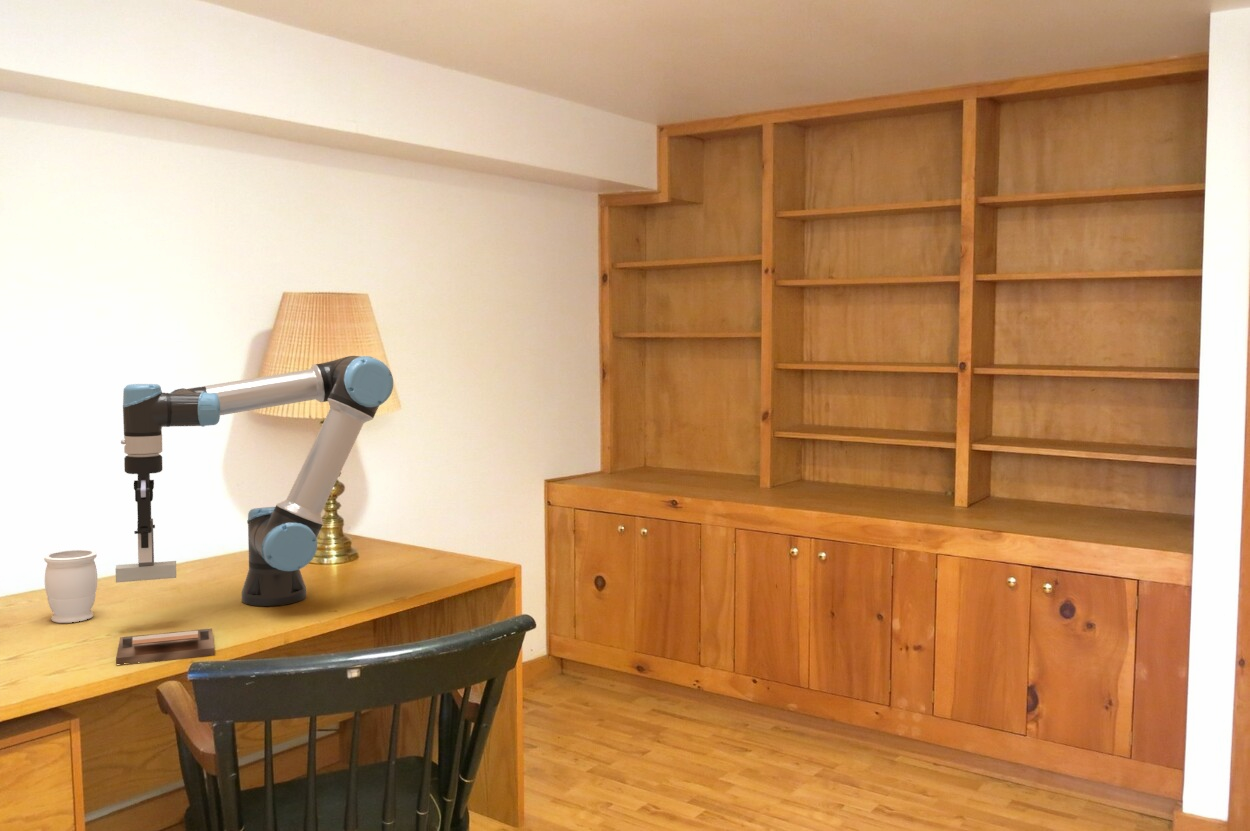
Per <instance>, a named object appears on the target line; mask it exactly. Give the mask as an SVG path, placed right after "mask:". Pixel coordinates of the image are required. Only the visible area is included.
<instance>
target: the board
mask: <svg viewBox="0 0 1250 831" xmlns="http://www.w3.org/2000/svg"><path fill="white" fill-rule="evenodd" d="M188 631H198V639H188V640H178V641H168V642H158V643H148V644H138V645H134V644H133V637H137V636H147V635H157V634H168V633H178V632H188ZM213 631H214V630H213V628H202V629H201V628H200V629H191V630H190V629H189V630H182V631H172V632H160V633H150V634H141V635H140V634H139V635H131V636H120V637H119V641H118V647H117V652H116V657H115V665H116V664H124V663H136V664H142V663H141V662H146V663H151V662H150V661H155V662H163V661H162V660H165V661H171V660H172V661H173V660H182V659H190V658H201V657H208V656H215V643H214V635H213V634H214V633H213ZM138 662H140V663H138Z"/></svg>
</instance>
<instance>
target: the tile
mask: <svg viewBox="0 0 1250 831" xmlns="http://www.w3.org/2000/svg"><path fill="white" fill-rule="evenodd" d="M187 631H188V632H179V631H177V632H178V633H169V632H167V633H168V634H159V633H156V634H157V635H148V634H146V635H147V636H138V635H136V636H137V637H133V644H134V645H138V644H148V643H158V642H168V641H178V640H188V639H198V631H190V630H187Z"/></svg>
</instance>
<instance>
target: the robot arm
mask: <svg viewBox="0 0 1250 831" xmlns="http://www.w3.org/2000/svg"><path fill="white" fill-rule="evenodd" d="M393 389H394V376H393V374H392V372H391V370H390V368H389V367H388V366H387V364H385V363H384V362H383V361H382V360H380V359H377V358H375V357H372V356H369V355H365V356H359V355H349V356H344V357H342V358H336V359H334V360H330V361H325V362H322V363H315V364H313V365H312V366H311V368H309V369H305V370H304V369H303V370H297V371H291V372H285V373H279V374H278V373H277V374H271V375H266V376H265V375H264V376H260V377H252V378H247V379H241V380H234V381H228V382H222V383H221V382H220V383H216V384H210V385H204V386H196V387H190V388H183V387H182V388H178V389H174V390H172V391H171V392H170V393H169V392H163V391H162V387H161V385H160V384H157V383H133V384H132V383H131V384H127V385H126V386H125V387H124V388H123V397H122V414H123V415H122V416H123V418H122V420H123V439H121V440H120V444H121V445H124V446H123V447H124V454H126V455H125V457H124V460H123V461H124V463H123V464H124V473H126V474H128V475H137V480H133V490H134V499H135V502H136V506H137V521H138V523H137V529H136V530H134V535H137V556H138V557H137V559H138V560H137V564H139V563H145V562H152V532H151V521H150V519H152V501H153V500H154V489H155V488H154V487H155V480H154V479H151V475H150V474H157V473H161V472H162V471H163V456H162V455H161V453H162V452H163V434H162V433H163V432H162V429H163V428H164V427H165V428H170V427H206V426H208V427H209V426H216V425H217V424H219V422H220V419H221V418H220V417H221V416H224V415H225V416H226V415H233V414H236V413H242V412H243V413H244V412H250V411H254V410H260V409H267V408H271V407H278V406H284V405H290V404H297V403H302V402H307V401H308V402H309V401H314V400H316V401H317V402H319V403H325V402H326V403H327V402H328V406H329V410H328V412H327V415H326V417H325V418H324V421H323V422H322V424H321V426H320V429H319V431H318V433H317V435H316V438H315V439H314V441H313V444H312V445H311V448H310V450H309V451H308V454H307V456H306V458H305V460H304V461H303V464H302V466H301V468H300V471H299V473H298V474H297V477H296V479H295V481H294V483H293V485H292V487H291V489H290V491H289V493H288V495H287V498H286V499H285V500H284V501H281V502H279V503H277V504H276V505H275V506H266V507H255V508H251V509H250V510H249V511H248V514H247V522H246V523H247V531H248V533H247V534H248V536H247V537H248V538H247V539H248V540H247V541H248V542H247V543H248V570H247V571H248V572H247V575H246V578H245V581H244V584H243V587H242V590H241V601H242V603H243V604H245V605H250V606H255V607H257V606H258V607H275V606H276V607H277V606H286V605H291V604H294V603H298V602H302V601H303V600H305V599H306V598H307V586H306V584H305V580H304V577H303V576H302V572H301V569H302V568H305V567H307V566H308V565H309V563H311V561H313V559H314V558H315V555H316V553H317V549H318V536H319V533H320V532H321V529H322V527H323V525H324V521H323V518H322V515H321V514H322V512H323V510H324V509H325V506H326V504H327V502H328V500H329V497H330V495H331V493H332V491H333V489H334V487H335V485H336V483H337V481H338V478H339V476H340V474H341V472H342V470H343V467H344V466H345V464H346V462H347V460H348V457H349V455H350V453H351V451H352V449H353V447H354V444H355V443H356V441H357V439H358V436H359V434H360V432H361V430H362V427H363V425H364V424H365V423H367V422H369V421H371V420H374V418H375V416H376V413H377V411H378V410H379V407H380V406H381V405H382V404H384V403H386V402H387V400H388V399H389V398H390V396H391V395H392V392H393ZM153 529H156V525H155V524H153Z"/></svg>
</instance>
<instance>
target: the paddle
mask: <svg viewBox="0 0 1250 831" xmlns="http://www.w3.org/2000/svg"><path fill="white" fill-rule="evenodd" d="M150 521H151V532H152V562H145V563H129V564H127V563H126V564H117V565H115V583H116V584H117V583H127V582H129V583H130V582H142V581H154V580H168V579H169V580H170V579H177V561H176V560H172V561H168V560H167V561H157V562H156V561H155V552H154V551H155V550H154V549H155V548H154V543H155V542H154V528H153V525H154V518H151V519H150ZM137 524H138V520H137Z"/></svg>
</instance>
